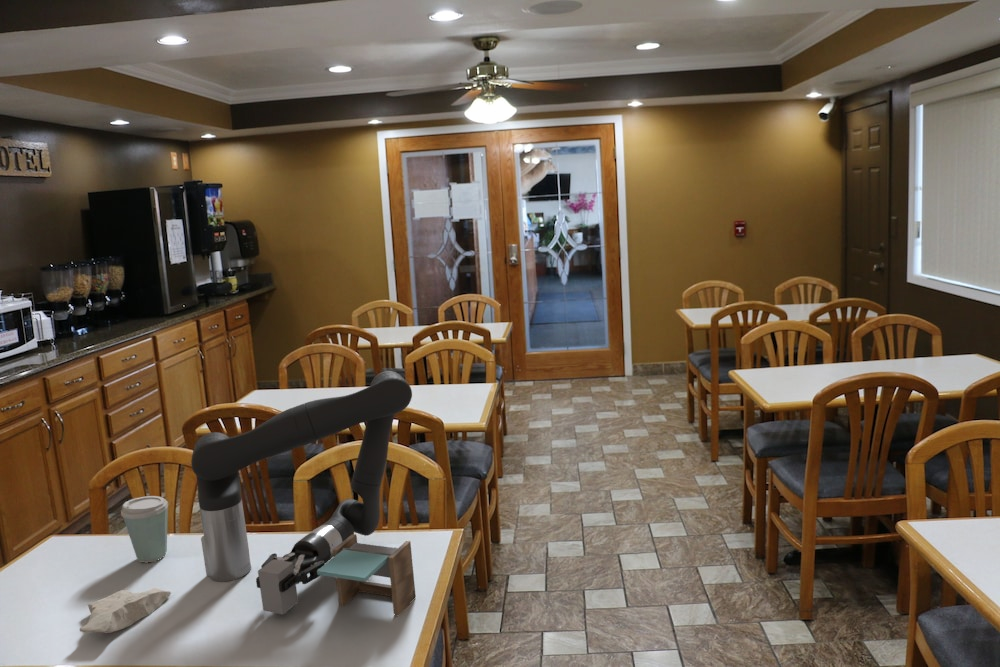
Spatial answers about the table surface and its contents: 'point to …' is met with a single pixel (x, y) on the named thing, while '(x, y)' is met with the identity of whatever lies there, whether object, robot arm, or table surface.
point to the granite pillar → (276, 587)
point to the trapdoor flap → (358, 563)
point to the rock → (122, 609)
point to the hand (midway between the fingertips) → (269, 585)
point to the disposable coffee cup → (147, 526)
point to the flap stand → (399, 588)
